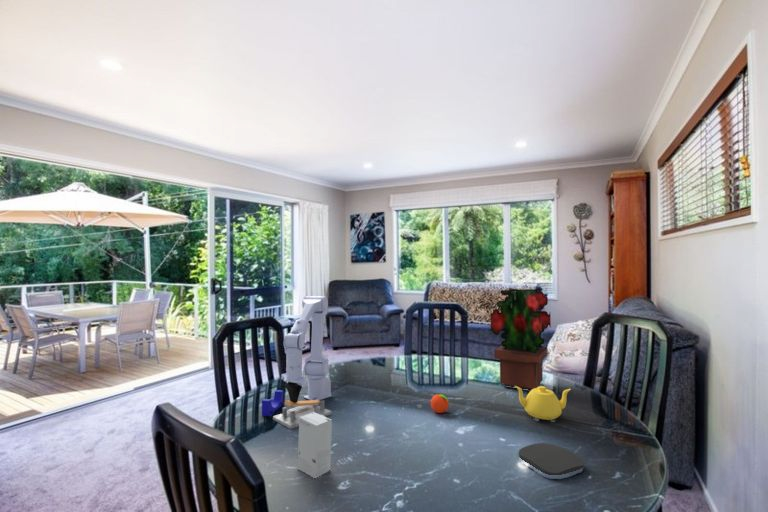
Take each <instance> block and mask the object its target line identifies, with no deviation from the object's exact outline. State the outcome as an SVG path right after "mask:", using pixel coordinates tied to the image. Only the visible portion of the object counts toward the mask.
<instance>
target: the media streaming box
mask: <svg viewBox="0 0 768 512" xmlns="http://www.w3.org/2000/svg"><path fill="white" fill-rule="evenodd" d="M519 457H520V458H521V459H522V460H524V461H525V462H527V463H529V464H530V465H532V466H533V467H535V468H536V469H538V470H540V471H541V472H543V473H545V474H548V475H562V474H566V473H569V472H573V471H576V470H579V469H581V468H583V467H584V468H585V462H584V460H583V459H582V458H581V457H579V455H577V454H575V453H574V452H573V451H570V450H568V449H567V448H564V447H562V446H561V445H558V444H554V443H553V444H552V443H544V442H539V443H538V442H537V443H532V444H529V445H527V446H524V447H522V448H520V449H519V450H518V458H519Z"/></svg>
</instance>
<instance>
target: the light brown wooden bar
mask: <svg viewBox="0 0 768 512" xmlns="http://www.w3.org/2000/svg"><path fill="white" fill-rule="evenodd" d="M320 401H321V400H317V399H315V400H309V399H307V400H298V401H297V402H296V403H294V402H292V401H290V399H285V402H284V405H286V406H289V407H290V408H291V407H298V406H304V405H305V406H306V405H318V406H320Z"/></svg>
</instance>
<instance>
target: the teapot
mask: <svg viewBox="0 0 768 512" xmlns="http://www.w3.org/2000/svg"><path fill="white" fill-rule="evenodd" d="M515 387H516V388H517V389H516V390H517V391H518V399H519V400H518V401H519V403H520V404H521V405H522V407H524V410H525V412H526V413H527V414H528V415H529V416H530V417H532V418H534V417H535V418H539V419H540V420H547V421H549V420H552V419H555V420H556V419H557V418H559V417H560V416H561V414H562V413H563V412H562V411H563V409H565V408H566V405H567V399H568V398H567V395H568V393H569V392H570V391H571V390H572V389H571V388H567V389H564V390H563V391H562V395H561V399H560V400H559V398H558V397H557V395H556V394H555V392H554V391H553V390H551V389H547V387H546V386H543V385H539V386H538V387H537V388H534V389H532V390H531V391H528V394H527V395H526V397H524V392H523V390H522V389H521V388H520V387H517V386H515Z"/></svg>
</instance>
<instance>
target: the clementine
mask: <svg viewBox="0 0 768 512" xmlns="http://www.w3.org/2000/svg"><path fill="white" fill-rule="evenodd" d="M449 404H450V401H449V399H448V398H447V397H446V396H445V395H444V394H441V393H439V394H438V393H436V394H435V395H433V396H432V398H431V399H430V406H431V409H432V410H433V411H434V412H435V413H437V414H443V413H445V412H447V410H448V408H449Z"/></svg>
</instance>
